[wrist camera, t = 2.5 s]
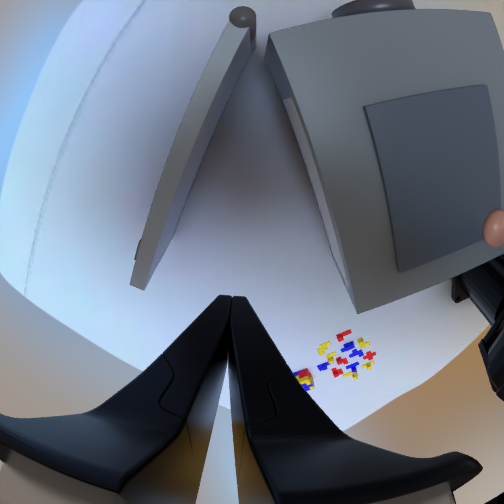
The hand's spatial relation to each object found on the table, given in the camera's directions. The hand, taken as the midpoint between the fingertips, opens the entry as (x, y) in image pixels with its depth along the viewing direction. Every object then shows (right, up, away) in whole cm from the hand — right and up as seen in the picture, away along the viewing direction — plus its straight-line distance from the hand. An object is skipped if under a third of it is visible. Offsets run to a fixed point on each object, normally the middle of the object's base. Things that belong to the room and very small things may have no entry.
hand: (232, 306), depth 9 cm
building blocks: (+8, -8, +16) cm, 20 cm away
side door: (-2, +8, +7) cm, 11 cm away
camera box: (+9, +9, +7) cm, 15 cm away
